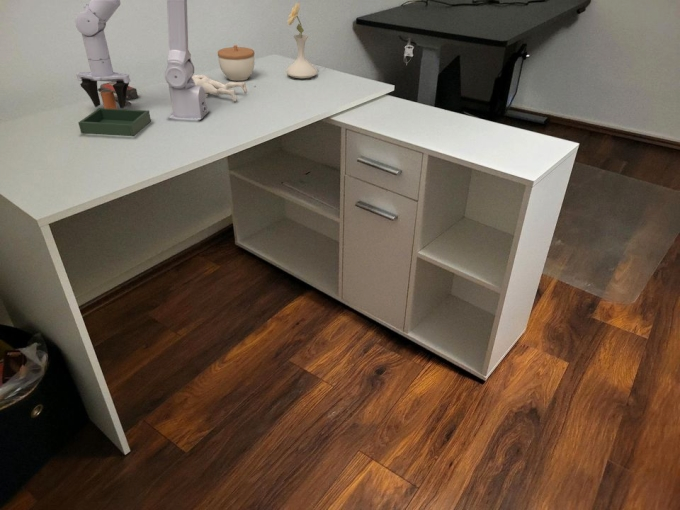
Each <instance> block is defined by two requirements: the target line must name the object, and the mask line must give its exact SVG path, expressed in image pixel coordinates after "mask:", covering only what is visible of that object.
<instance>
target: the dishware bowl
mask: <svg viewBox="0 0 680 510" xmlns="http://www.w3.org/2000/svg"><path fill="white" fill-rule="evenodd" d="M217 57H218V63H219V67H220V70H221V72H222V73H223V75H224V76H226V77H227V79H228V80H230V81H232V82H236V81H237V82H242V81H246V80H248V79H249V77H250V76H251V75H252V74H253V71H254V70H255V69H254V68H255V50H254V49H253V48H250V47H245V46H244V47H243V46H238V45H237V44H233V46H231V47H224V48H221V49H219V50H218V51H217Z"/></svg>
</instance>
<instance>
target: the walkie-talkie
mask: <svg viewBox="0 0 680 510" xmlns="http://www.w3.org/2000/svg"><path fill="white" fill-rule="evenodd" d="M115 83H116V82H106V83H102V84H100V86H99V88H98V93H101V91H102V90H106V89H111V90H113V92H114V97H115V101H116V103H117V102H118V97H117V94H116V92H115V90H114V88H113V85H114V84H115ZM138 97H139V96H138V90H137V88H135V87H133V86H130V85H128V88H127V92H126V105H130V106H131V105H132V102H131V101H129V100H132V99H136V98H138Z"/></svg>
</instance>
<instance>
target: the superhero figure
mask: <svg viewBox="0 0 680 510" xmlns="http://www.w3.org/2000/svg"><path fill="white" fill-rule="evenodd" d="M192 79H193V80H194V82H195V85H198V86H202V87H203V88H204V90H205V96H206V98H208V97H209V96H208V95H209V94H210V95H213V96H220V95H230V97H231V99H232V101H233V102H234V103H236V102H237V96H236V91H235V89H232V88H237V87H241V89H242V91H243V93H244V94H247V93H248V88H247V86H246V82H245V81H237V82H236V81H229V82H227V83H226V84H224V83H222V82H220V81H219V80H218V81H217V80H213V79H211V78H210V77H208V76H206V75H204V74H203V73H200V74H194V75H193V76H192Z"/></svg>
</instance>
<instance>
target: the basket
mask: <svg viewBox="0 0 680 510" xmlns="http://www.w3.org/2000/svg"><path fill="white" fill-rule="evenodd" d="M151 122H152V119H151V114H150V110H145V109H128V108H127V109H126V108H125V109H124V108H117V109H107V108H104V107H98V108H97V109H96V110H94V111H92V112H91V113H90V114H88V115H87V116H85V117H84V118H82V119H81V120H80V121H78V122H77V123H78V127H79V130H80V134H83V135H84V134H85V135H102V136H103V135H104V136H121V137H135V136H136V135H137V134H138V133H139V132H141V131H142V130H143V129H144V128H145V127H147V126H148V125H149V124H150V123H151Z"/></svg>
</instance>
